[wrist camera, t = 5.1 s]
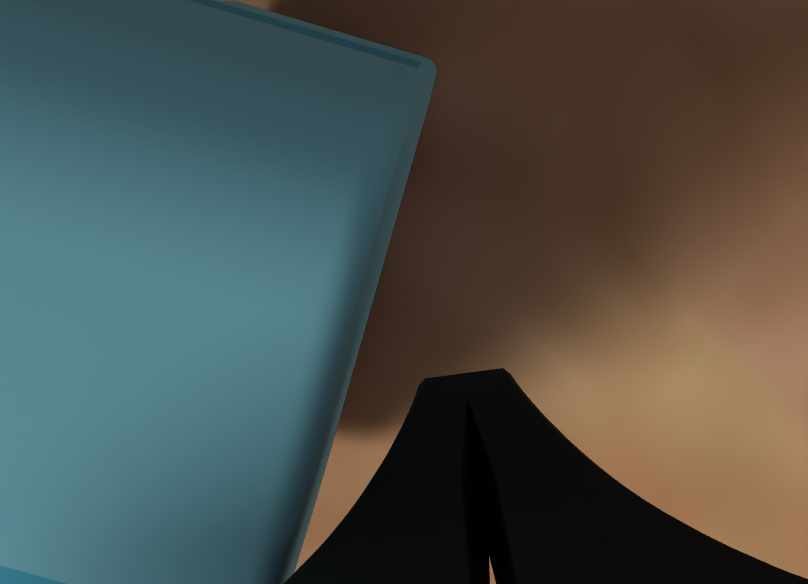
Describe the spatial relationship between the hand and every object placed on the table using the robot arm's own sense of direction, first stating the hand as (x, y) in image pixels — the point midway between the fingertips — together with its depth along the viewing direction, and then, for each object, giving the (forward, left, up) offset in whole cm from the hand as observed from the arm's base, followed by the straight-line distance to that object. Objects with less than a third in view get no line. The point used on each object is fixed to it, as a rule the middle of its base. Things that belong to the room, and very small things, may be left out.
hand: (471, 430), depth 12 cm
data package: (-4, 0, -8) cm, 9 cm away
